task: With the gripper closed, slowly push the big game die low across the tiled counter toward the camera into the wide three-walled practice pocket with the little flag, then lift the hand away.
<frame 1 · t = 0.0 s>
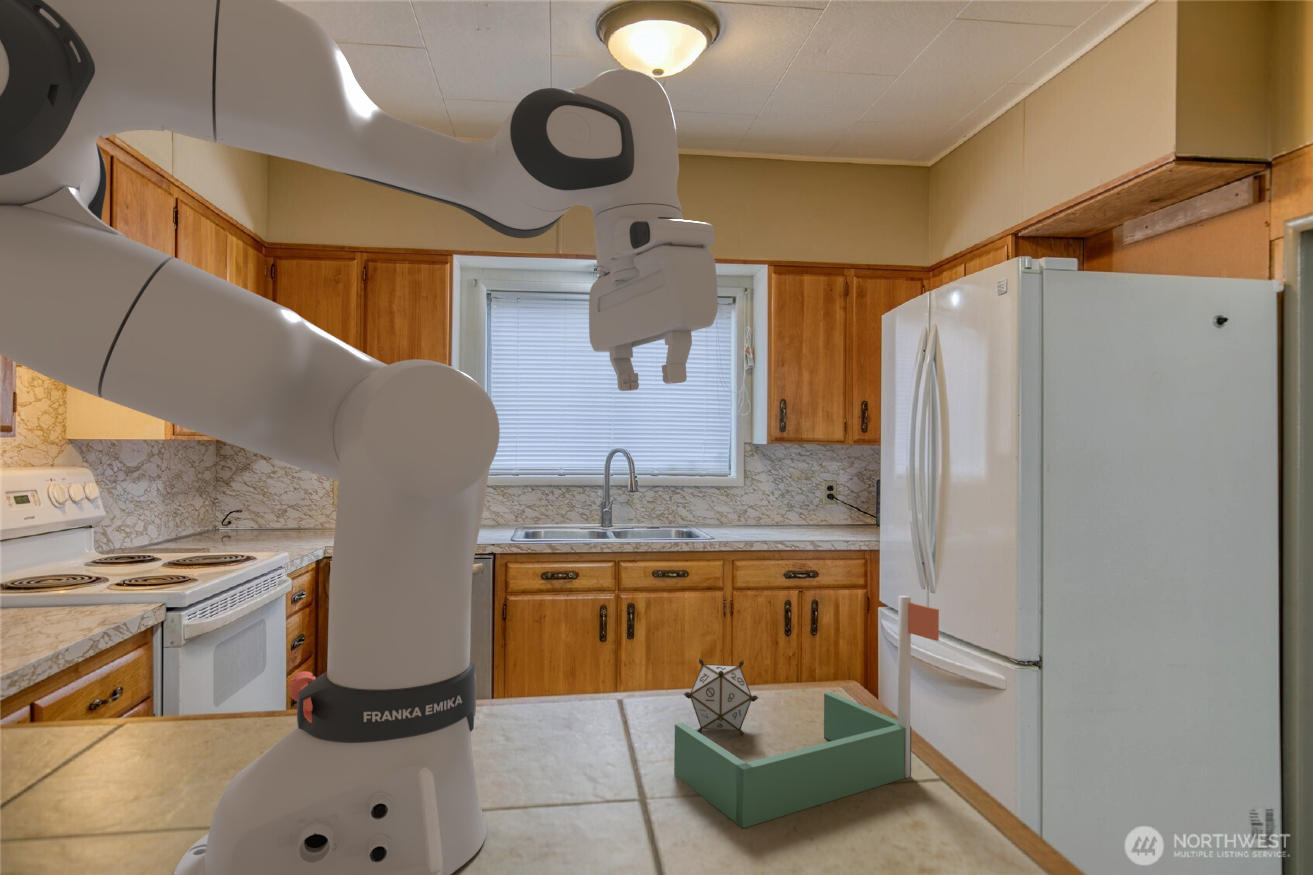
hand: (650, 387, 70), 39 cm above the countertop, tool pointing down, fingers open, 8 cm apart
practice pocket: (775, 764, 73), on the countertop
game die: (720, 733, 82), on the countertop
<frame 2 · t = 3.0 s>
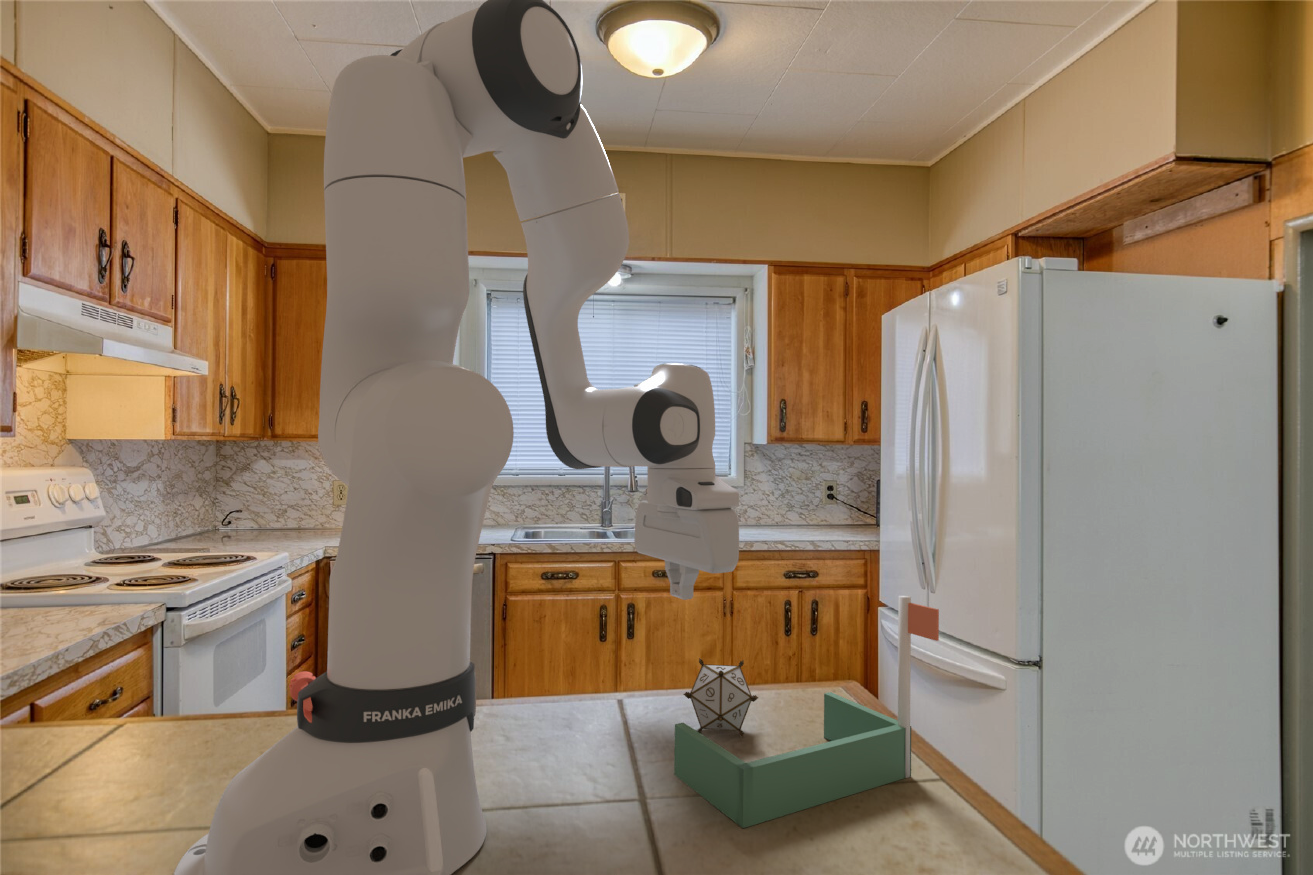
hand: (681, 597, 91), 14 cm above the countertop, tool pointing down, fingers closed
nothing on the countertop moved.
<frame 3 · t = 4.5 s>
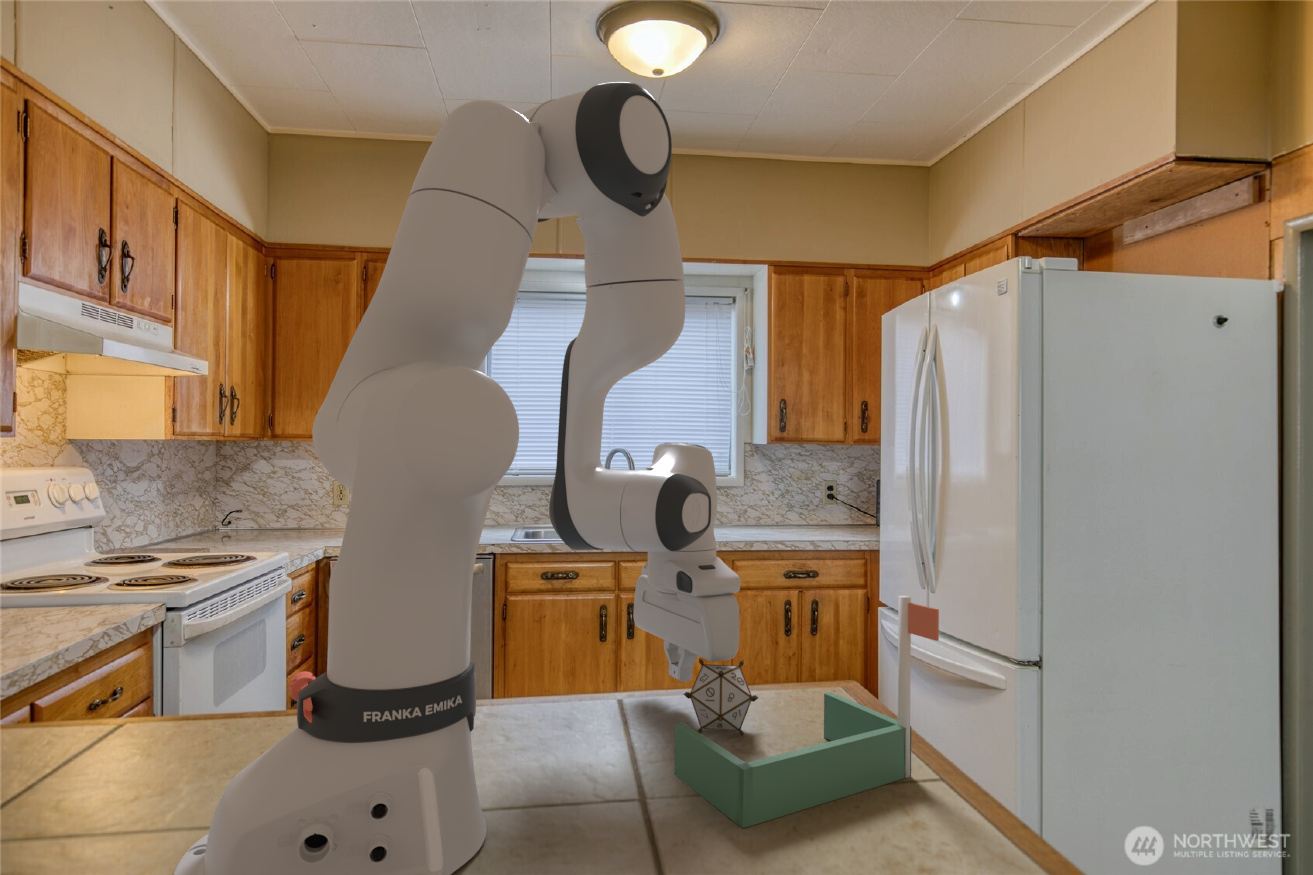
hand: (680, 678, 90), 4 cm above the countertop, tool pointing down, fingers closed
nothing on the countertop moved.
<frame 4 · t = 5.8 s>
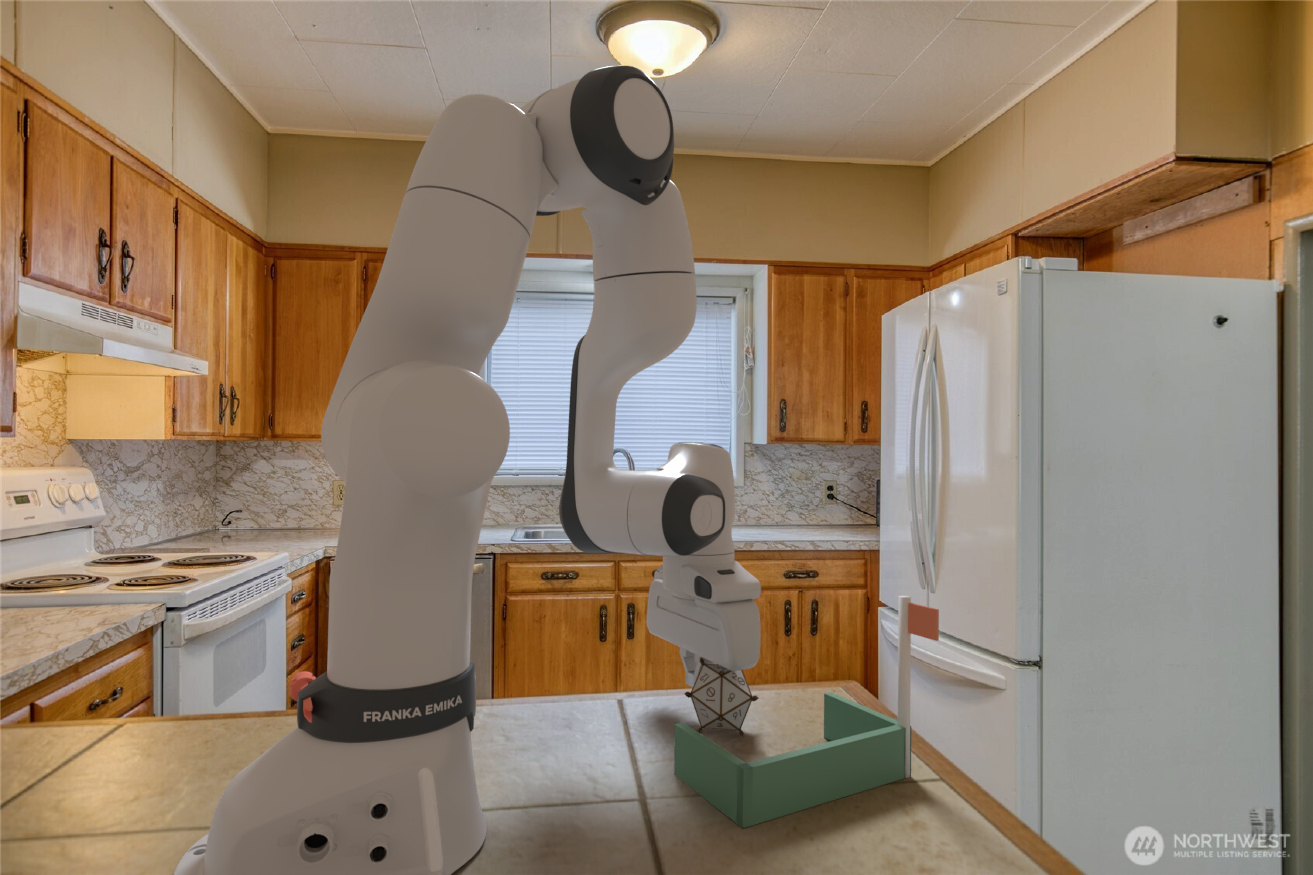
hand: (696, 687, 86), 4 cm above the countertop, tool pointing down, fingers closed
game die: (720, 732, 82), on the countertop, touching gripper
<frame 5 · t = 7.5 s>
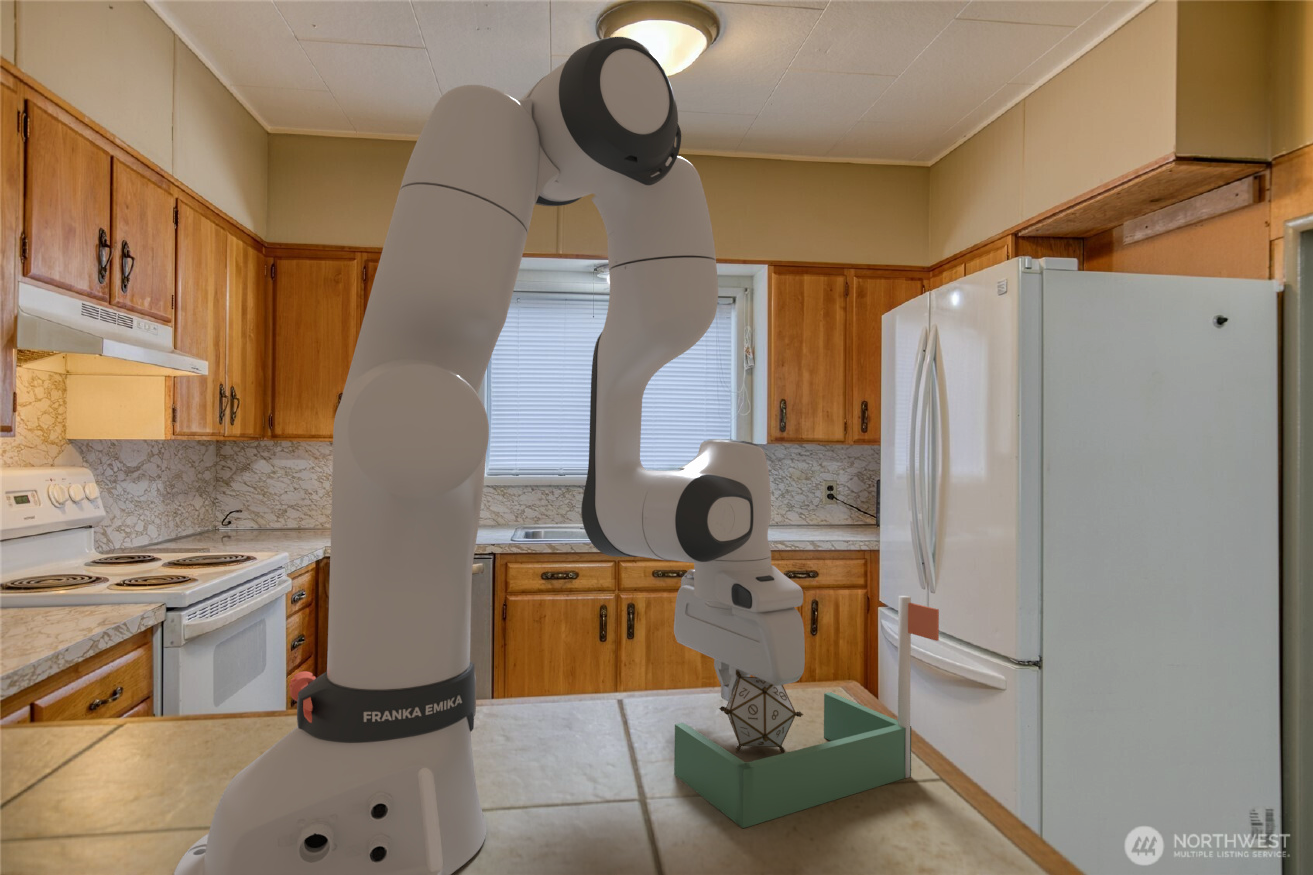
hand: (732, 701, 80), 4 cm above the countertop, tool pointing down, fingers closed
game die: (758, 748, 77), on the countertop, touching gripper
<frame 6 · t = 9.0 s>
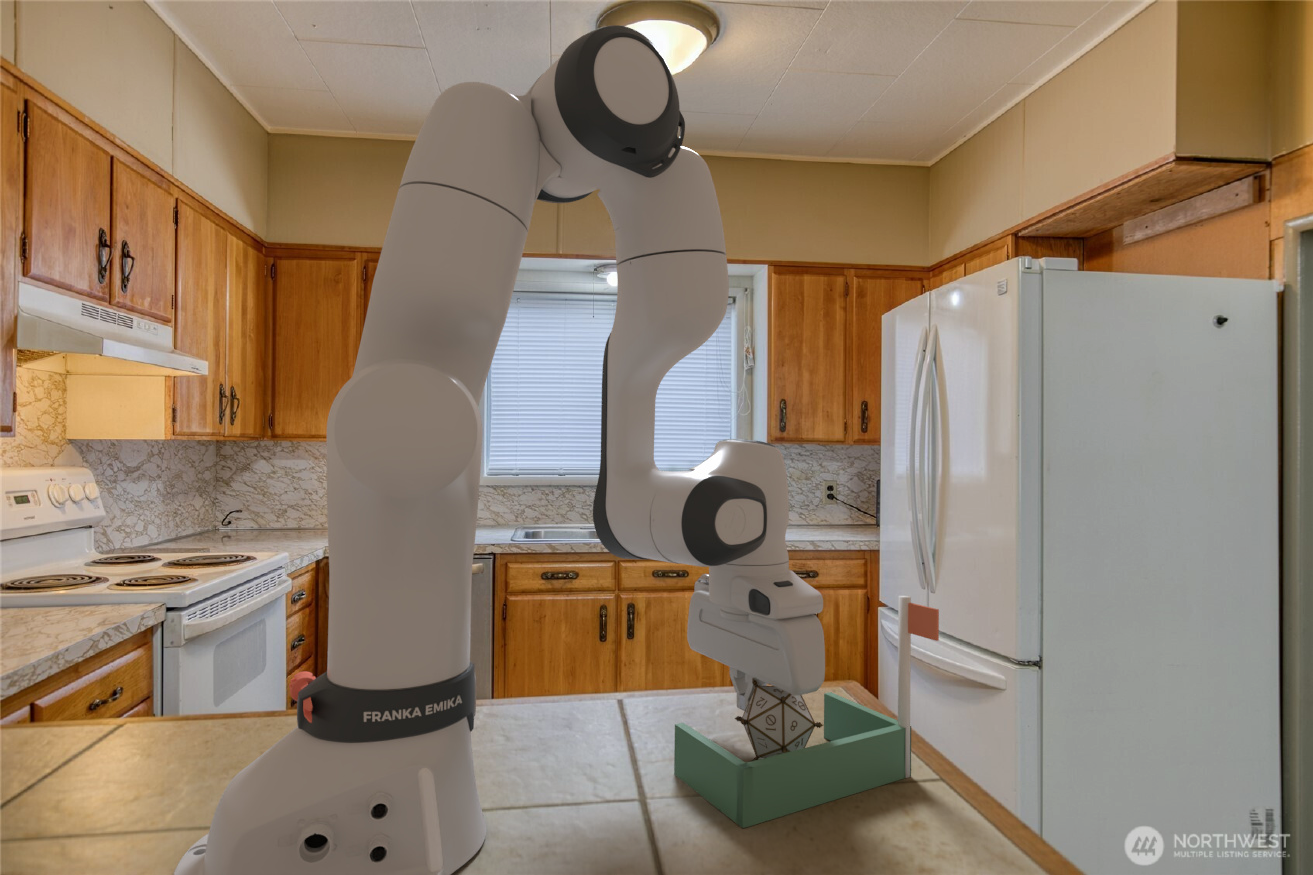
hand: (748, 710, 78), 4 cm above the countertop, tool pointing down, fingers closed
game die: (775, 760, 74), on the countertop, touching gripper
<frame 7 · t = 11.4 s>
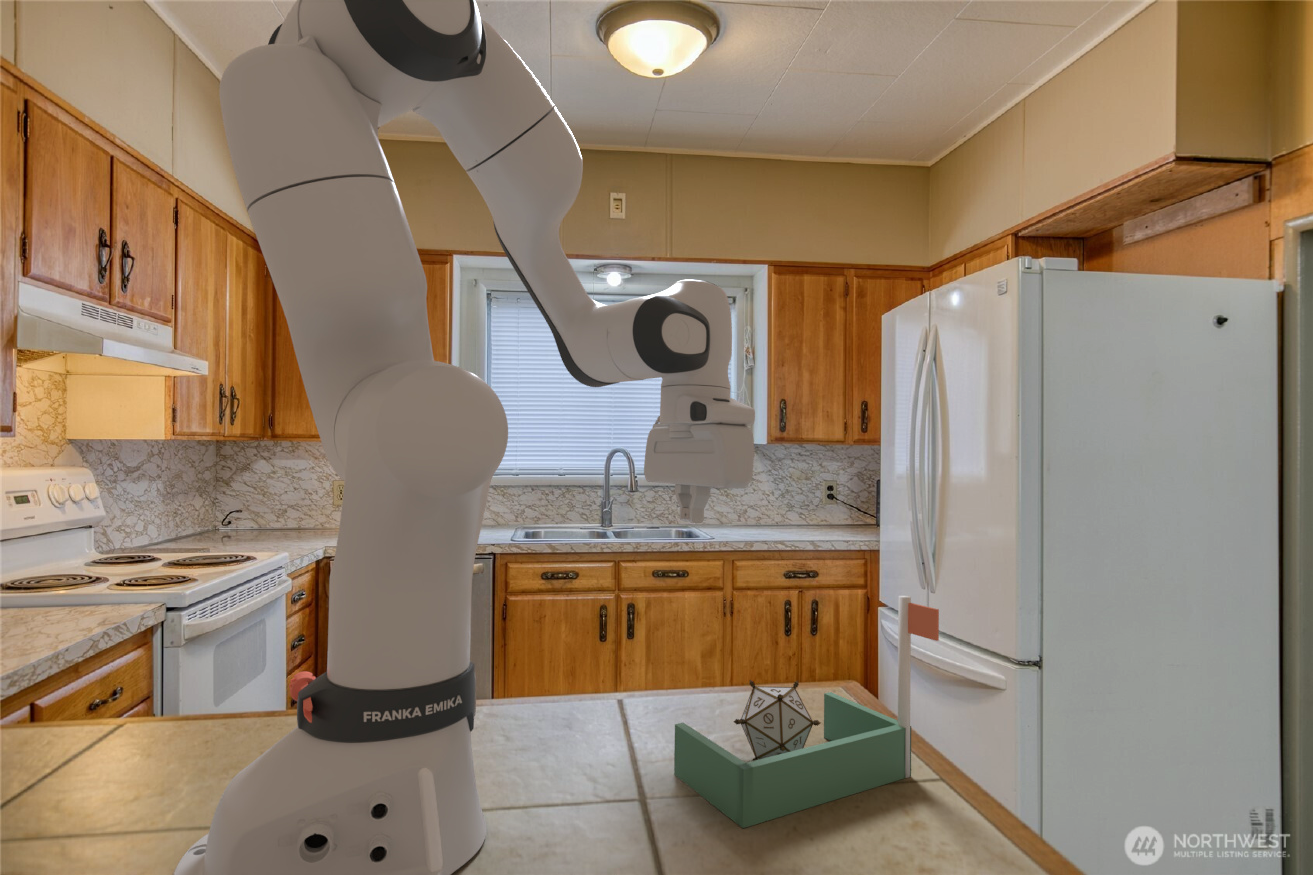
hand: (691, 522, 88), 24 cm above the countertop, tool pointing down, fingers closed
game die: (775, 762, 74), on the countertop
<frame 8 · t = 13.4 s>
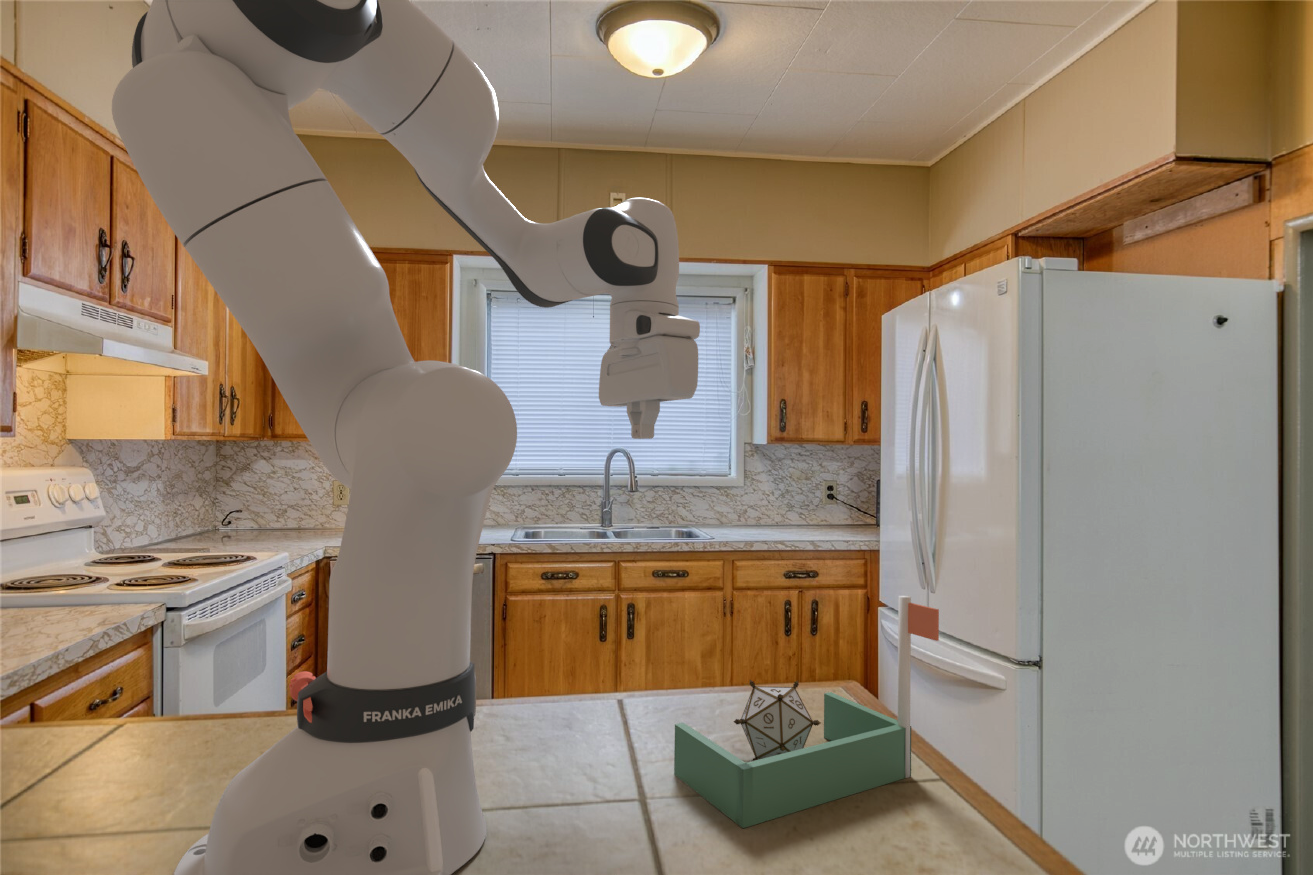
hand: (642, 438, 90), 34 cm above the countertop, tool pointing down, fingers closed
nothing on the countertop moved.
at the end: game die inside the target area (3.7 cm from its centre), on the countertop; game die moved 9.1 cm from its start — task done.
